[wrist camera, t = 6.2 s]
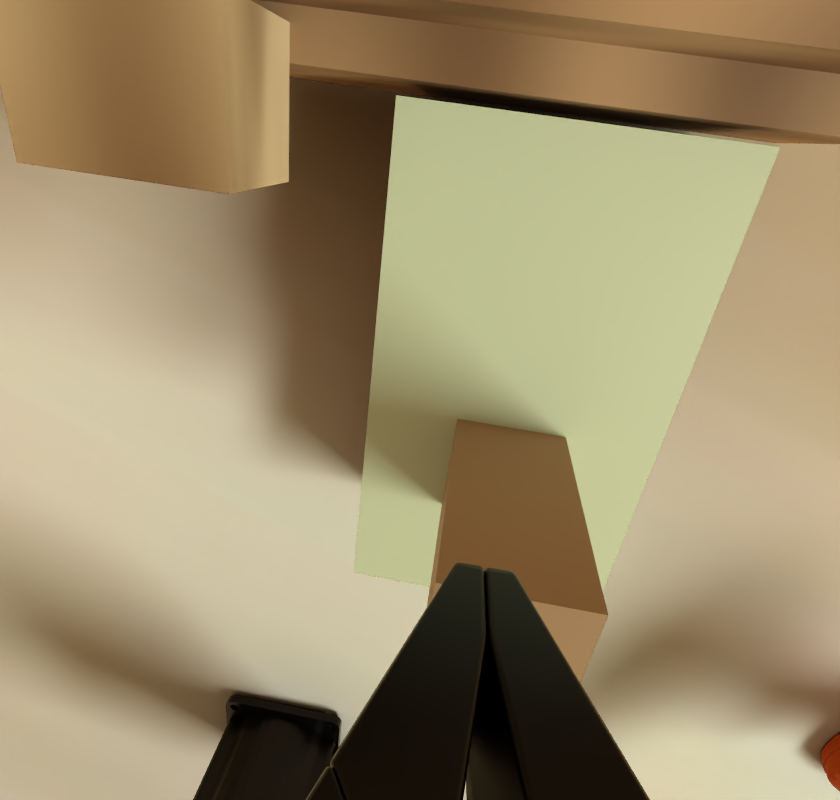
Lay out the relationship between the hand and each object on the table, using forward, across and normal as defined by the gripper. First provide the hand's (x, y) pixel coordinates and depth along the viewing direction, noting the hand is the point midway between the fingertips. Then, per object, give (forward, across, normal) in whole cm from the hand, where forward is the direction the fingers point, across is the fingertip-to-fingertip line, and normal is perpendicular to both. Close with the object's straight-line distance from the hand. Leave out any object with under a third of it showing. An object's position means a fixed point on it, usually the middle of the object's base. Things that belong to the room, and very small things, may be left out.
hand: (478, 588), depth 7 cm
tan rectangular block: (+7, +7, -6) cm, 12 cm away
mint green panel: (+8, -1, 0) cm, 8 cm away
